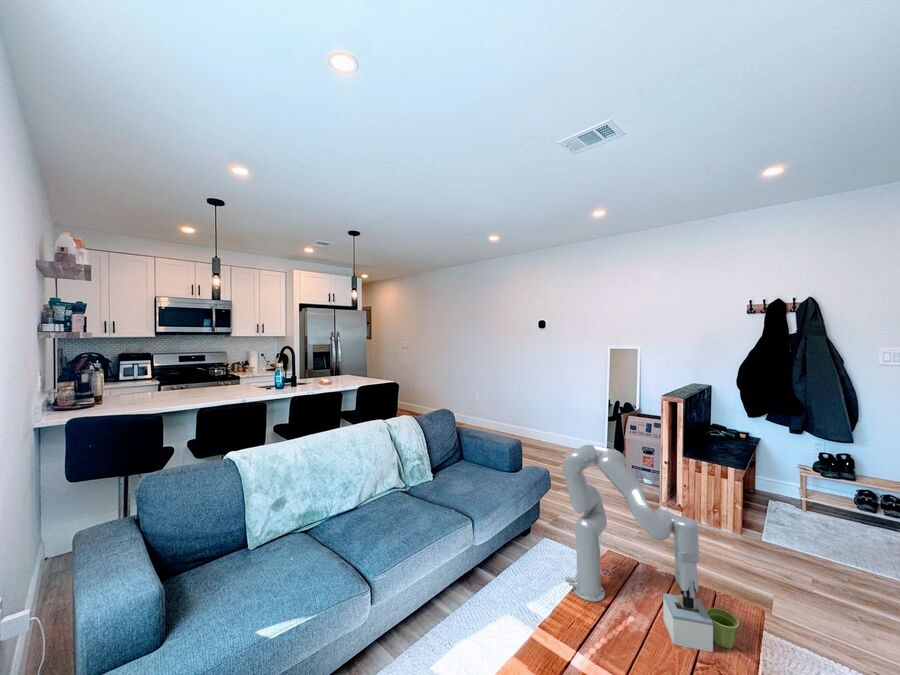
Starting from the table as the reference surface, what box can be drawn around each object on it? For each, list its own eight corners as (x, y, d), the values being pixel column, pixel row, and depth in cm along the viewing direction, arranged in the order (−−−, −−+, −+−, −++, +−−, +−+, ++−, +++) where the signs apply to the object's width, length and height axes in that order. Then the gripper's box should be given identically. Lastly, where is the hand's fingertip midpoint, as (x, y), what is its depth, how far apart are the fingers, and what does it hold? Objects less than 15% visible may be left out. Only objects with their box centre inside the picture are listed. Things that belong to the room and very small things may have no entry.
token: (685, 613, 132) (677, 599, 132) (683, 609, 134) (675, 595, 134) (699, 608, 131) (691, 595, 131) (696, 604, 132) (689, 591, 133)
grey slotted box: (673, 644, 128) (673, 615, 128) (663, 619, 140) (663, 593, 140) (713, 652, 125) (712, 622, 125) (699, 626, 137) (699, 599, 137)
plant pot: (700, 636, 132) (699, 612, 132) (716, 628, 136) (716, 604, 136) (728, 656, 123) (728, 630, 123) (745, 647, 127) (745, 622, 127)
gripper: (668, 541, 141) (668, 589, 141) (681, 564, 126) (682, 619, 126) (690, 543, 139) (691, 592, 139) (706, 568, 124) (708, 623, 124)
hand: (687, 605), depth 132 cm, fingers closed on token, 1 cm apart
